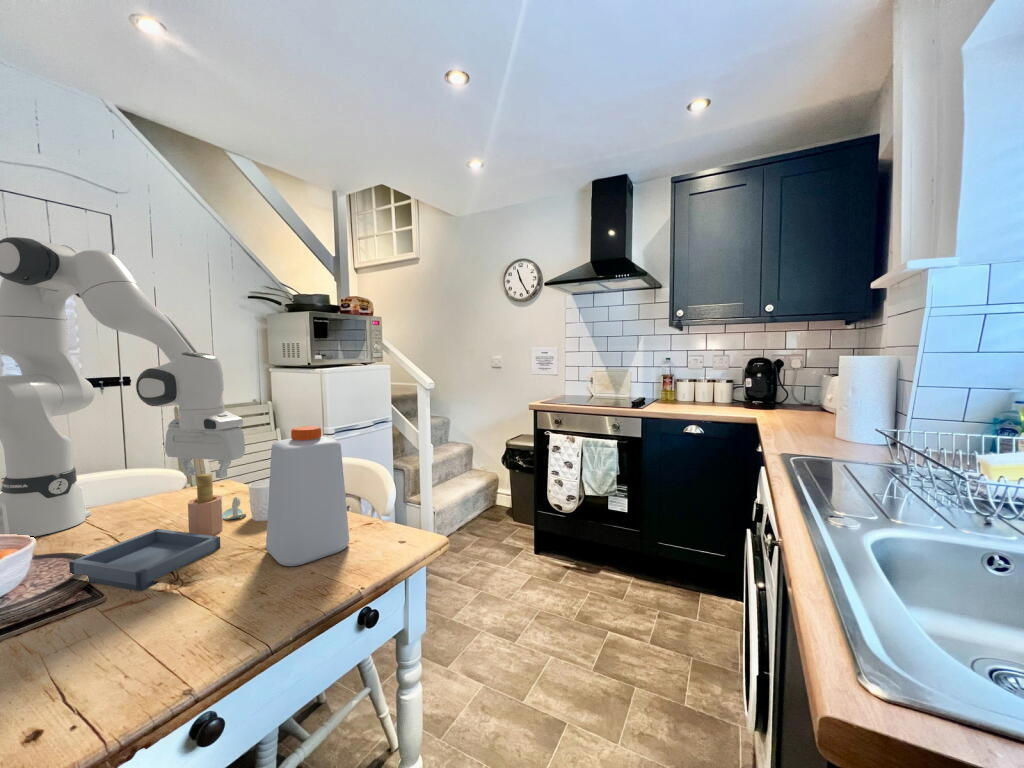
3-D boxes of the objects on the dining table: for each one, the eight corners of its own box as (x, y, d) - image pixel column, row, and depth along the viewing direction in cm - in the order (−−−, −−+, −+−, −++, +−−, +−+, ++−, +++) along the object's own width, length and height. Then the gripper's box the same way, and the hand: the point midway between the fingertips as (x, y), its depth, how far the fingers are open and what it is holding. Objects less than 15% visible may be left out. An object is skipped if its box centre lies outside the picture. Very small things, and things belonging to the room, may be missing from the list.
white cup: (267, 526, 105) (266, 488, 104) (242, 524, 106) (241, 486, 106) (290, 515, 112) (289, 480, 112) (266, 513, 114) (265, 478, 113)
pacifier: (221, 528, 104) (248, 521, 108) (219, 505, 103) (246, 498, 108) (214, 521, 109) (240, 514, 113) (212, 498, 108) (238, 492, 113)
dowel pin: (195, 533, 98) (193, 476, 97) (207, 528, 101) (205, 473, 100) (205, 534, 97) (203, 477, 96) (217, 529, 100) (215, 474, 99)
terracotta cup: (182, 539, 97) (181, 503, 96) (208, 529, 103) (207, 494, 102) (204, 542, 95) (203, 505, 95) (229, 531, 101) (228, 496, 101)
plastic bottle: (261, 549, 92) (257, 427, 91) (328, 529, 103) (326, 420, 102) (284, 573, 82) (281, 436, 80) (356, 548, 93) (354, 428, 91)
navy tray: (70, 579, 79) (69, 561, 79) (157, 543, 95) (157, 528, 94) (141, 591, 75) (140, 573, 75) (220, 552, 91) (220, 536, 90)
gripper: (155, 420, 97) (158, 477, 97) (225, 423, 92) (227, 482, 93) (181, 417, 103) (184, 470, 103) (248, 419, 98) (251, 475, 99)
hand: (205, 476), depth 98 cm, fingers open, 8 cm apart
